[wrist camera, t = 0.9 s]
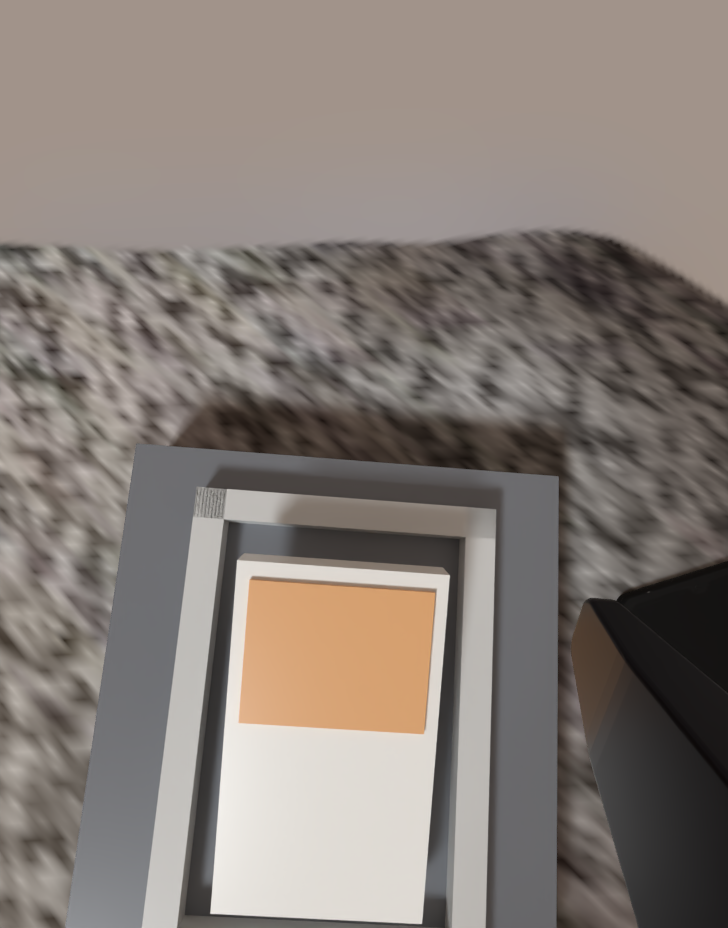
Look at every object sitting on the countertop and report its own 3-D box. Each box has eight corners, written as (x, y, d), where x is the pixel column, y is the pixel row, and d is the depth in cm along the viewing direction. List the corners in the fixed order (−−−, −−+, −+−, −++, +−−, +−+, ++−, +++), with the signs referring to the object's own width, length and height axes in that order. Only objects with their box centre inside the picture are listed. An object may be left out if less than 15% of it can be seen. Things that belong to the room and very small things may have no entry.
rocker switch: (416, 893, 18) (422, 928, 17) (218, 883, 18) (209, 917, 17) (442, 567, 18) (450, 576, 17) (244, 553, 18) (236, 561, 17)
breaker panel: (525, 965, 21) (571, 1056, 17) (93, 944, 21) (34, 1034, 17) (531, 489, 25) (571, 470, 21) (159, 460, 24) (124, 435, 20)
